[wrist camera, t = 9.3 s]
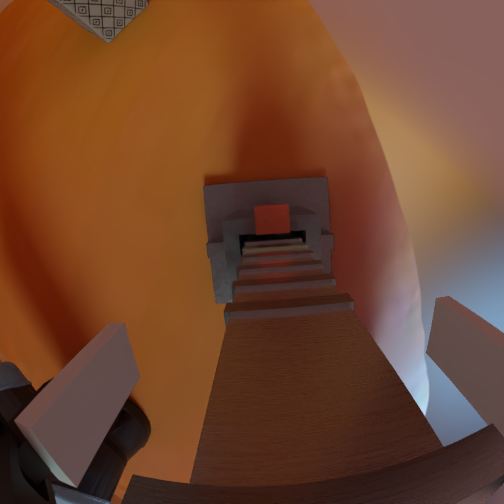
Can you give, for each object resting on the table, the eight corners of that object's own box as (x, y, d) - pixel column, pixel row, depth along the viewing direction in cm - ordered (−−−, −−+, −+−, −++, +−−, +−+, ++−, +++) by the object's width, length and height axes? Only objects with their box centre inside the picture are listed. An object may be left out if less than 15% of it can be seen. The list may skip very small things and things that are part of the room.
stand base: (217, 300, 35) (195, 357, 22) (204, 186, 32) (170, 184, 20) (329, 292, 35) (362, 344, 22) (325, 177, 32) (364, 170, 19)
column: (245, 289, 25) (203, 586, 3) (240, 231, 24) (110, 528, 2) (304, 285, 25) (409, 561, 2) (301, 227, 24) (521, 461, 1)
